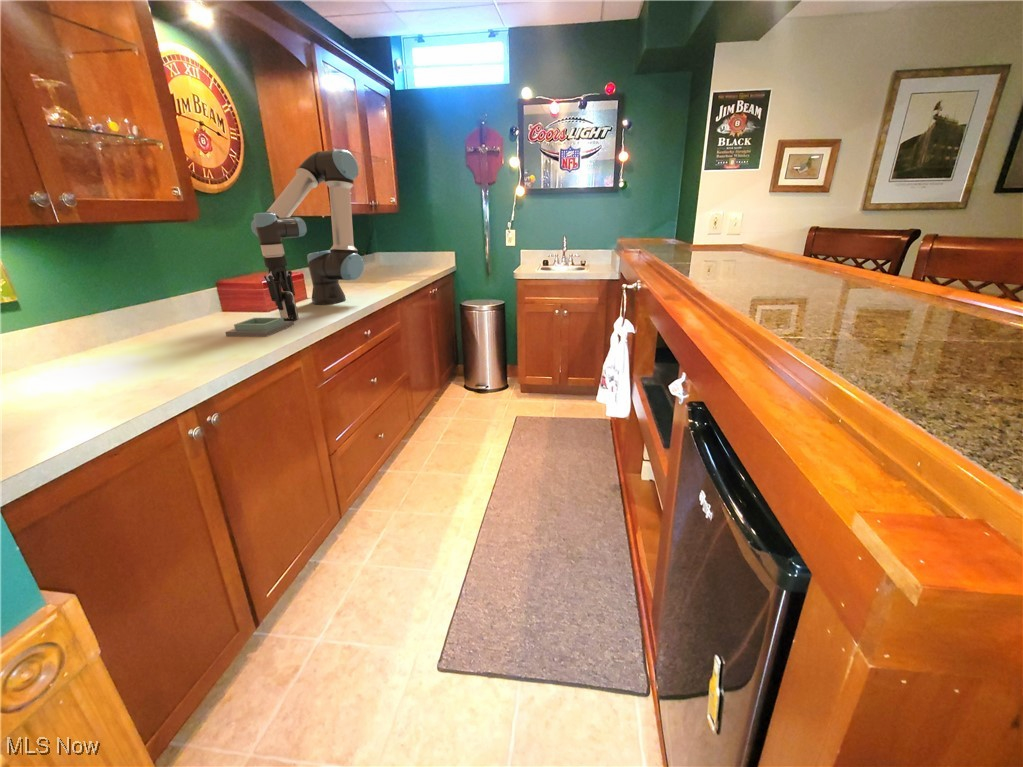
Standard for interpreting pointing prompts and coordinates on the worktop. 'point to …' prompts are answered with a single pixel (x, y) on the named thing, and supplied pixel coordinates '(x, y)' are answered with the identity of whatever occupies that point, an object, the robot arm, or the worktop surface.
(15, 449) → the worktop surface
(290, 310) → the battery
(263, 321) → the dock
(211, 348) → the worktop surface
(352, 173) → the robot arm
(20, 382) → the worktop surface
